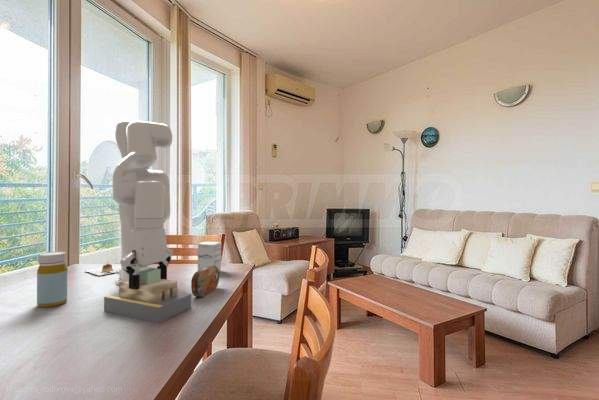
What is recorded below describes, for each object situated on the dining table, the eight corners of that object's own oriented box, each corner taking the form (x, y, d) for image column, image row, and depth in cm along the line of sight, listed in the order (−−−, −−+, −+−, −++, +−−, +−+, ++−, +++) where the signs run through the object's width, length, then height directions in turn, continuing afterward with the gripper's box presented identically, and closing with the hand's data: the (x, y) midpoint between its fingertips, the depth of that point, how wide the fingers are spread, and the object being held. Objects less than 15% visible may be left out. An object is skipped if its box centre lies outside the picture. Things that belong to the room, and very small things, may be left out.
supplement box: (196, 273, 129) (197, 243, 129) (206, 269, 136) (206, 241, 136) (213, 275, 127) (213, 244, 127) (221, 270, 134) (221, 241, 134)
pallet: (118, 296, 87) (119, 281, 87) (141, 288, 94) (141, 275, 94) (156, 303, 82) (156, 288, 82) (177, 294, 89) (177, 281, 89)
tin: (198, 300, 97) (198, 273, 97) (189, 299, 97) (189, 273, 97) (219, 286, 111) (220, 263, 111) (211, 286, 112) (212, 263, 112)
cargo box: (134, 282, 87) (134, 270, 87) (147, 278, 91) (147, 267, 91) (147, 284, 85) (147, 272, 85) (160, 280, 90) (160, 268, 90)
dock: (104, 311, 86) (104, 296, 86) (140, 298, 98) (140, 285, 98) (158, 323, 79) (159, 307, 79) (191, 307, 90) (191, 293, 90)
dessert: (98, 278, 121) (98, 266, 121) (84, 273, 128) (84, 262, 128) (129, 272, 132) (129, 260, 132) (114, 268, 138) (114, 257, 138)
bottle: (72, 301, 94) (73, 252, 93) (47, 309, 87) (47, 256, 87) (57, 298, 96) (57, 250, 96) (31, 306, 89) (31, 254, 89)
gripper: (162, 221, 98) (162, 275, 98) (111, 226, 81) (111, 290, 82) (181, 222, 95) (180, 278, 95) (132, 227, 79) (132, 294, 79)
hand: (148, 284), depth 88 cm, fingers open, 9 cm apart
